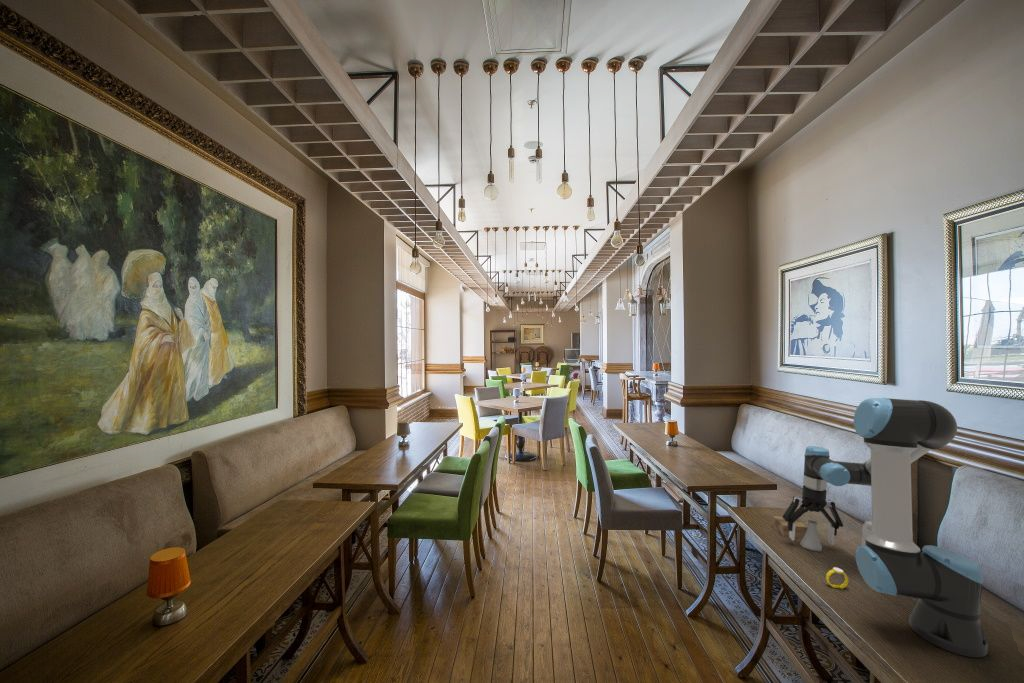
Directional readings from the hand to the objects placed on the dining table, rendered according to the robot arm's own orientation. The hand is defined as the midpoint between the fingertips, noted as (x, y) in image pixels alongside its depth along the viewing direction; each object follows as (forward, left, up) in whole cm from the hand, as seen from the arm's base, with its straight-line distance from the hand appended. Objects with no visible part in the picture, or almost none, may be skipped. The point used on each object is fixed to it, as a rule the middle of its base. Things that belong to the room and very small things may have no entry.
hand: (810, 540), depth 165 cm
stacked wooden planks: (+11, +3, -3) cm, 11 cm away
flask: (0, 0, -3) cm, 3 cm away
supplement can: (-10, -16, -3) cm, 19 cm away
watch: (-27, +5, -3) cm, 28 cm away
